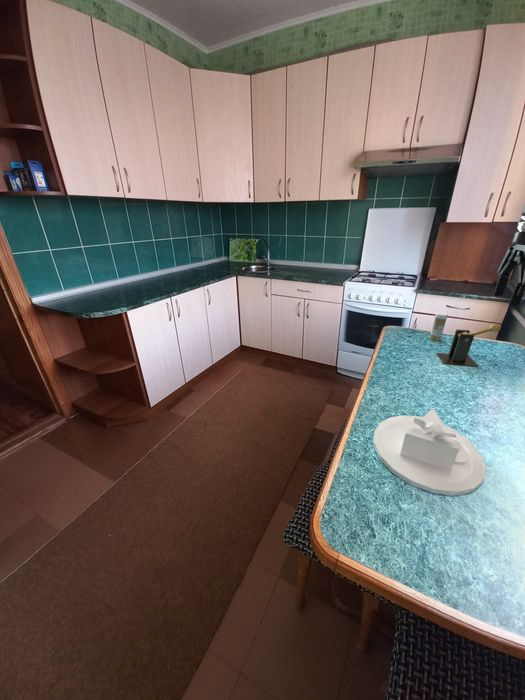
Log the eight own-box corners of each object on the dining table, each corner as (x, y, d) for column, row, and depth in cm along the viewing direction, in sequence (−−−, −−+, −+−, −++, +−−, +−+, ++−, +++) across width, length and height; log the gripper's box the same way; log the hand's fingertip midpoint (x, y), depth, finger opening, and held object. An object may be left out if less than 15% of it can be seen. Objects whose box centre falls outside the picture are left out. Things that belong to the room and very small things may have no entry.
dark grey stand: (467, 358, 116) (477, 328, 111) (477, 369, 109) (488, 338, 103) (435, 355, 119) (443, 326, 113) (442, 366, 111) (451, 336, 105)
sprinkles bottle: (426, 339, 133) (434, 311, 127) (437, 339, 133) (444, 311, 127) (431, 343, 129) (439, 315, 123) (442, 343, 129) (450, 315, 123)
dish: (490, 514, 58) (511, 476, 53) (363, 467, 70) (370, 431, 64) (479, 437, 77) (494, 403, 72) (381, 409, 89) (387, 378, 83)
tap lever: (498, 328, 106) (497, 321, 105) (503, 332, 104) (501, 324, 103) (458, 339, 111) (457, 332, 110) (461, 343, 108) (460, 335, 107)
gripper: (499, 228, 101) (478, 290, 111) (539, 234, 81) (510, 309, 91) (524, 228, 99) (501, 291, 109) (571, 234, 80) (537, 311, 90)
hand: (505, 299), depth 100 cm, fingers open, 10 cm apart
